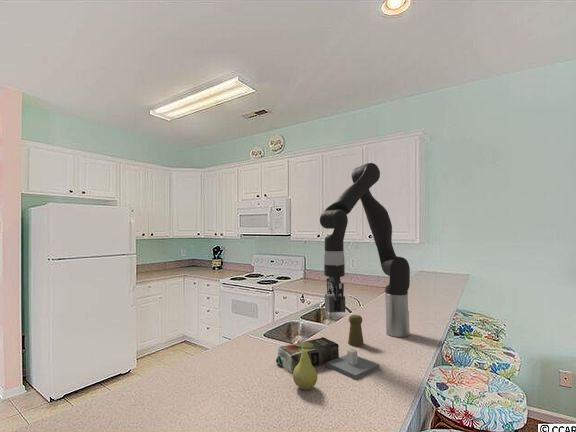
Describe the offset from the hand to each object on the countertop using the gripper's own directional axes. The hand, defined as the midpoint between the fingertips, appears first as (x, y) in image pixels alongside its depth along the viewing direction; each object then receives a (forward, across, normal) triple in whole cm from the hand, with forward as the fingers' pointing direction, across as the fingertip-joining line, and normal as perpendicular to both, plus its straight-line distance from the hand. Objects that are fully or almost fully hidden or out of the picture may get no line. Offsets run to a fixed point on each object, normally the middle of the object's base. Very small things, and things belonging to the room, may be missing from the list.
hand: (335, 308), depth 113 cm
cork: (+16, -6, +10) cm, 20 cm away
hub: (+15, +14, +1) cm, 21 cm away
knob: (+1, 0, 0) cm, 1 cm away
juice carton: (+16, +7, -12) cm, 21 cm away
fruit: (+16, +24, -17) cm, 34 cm away
